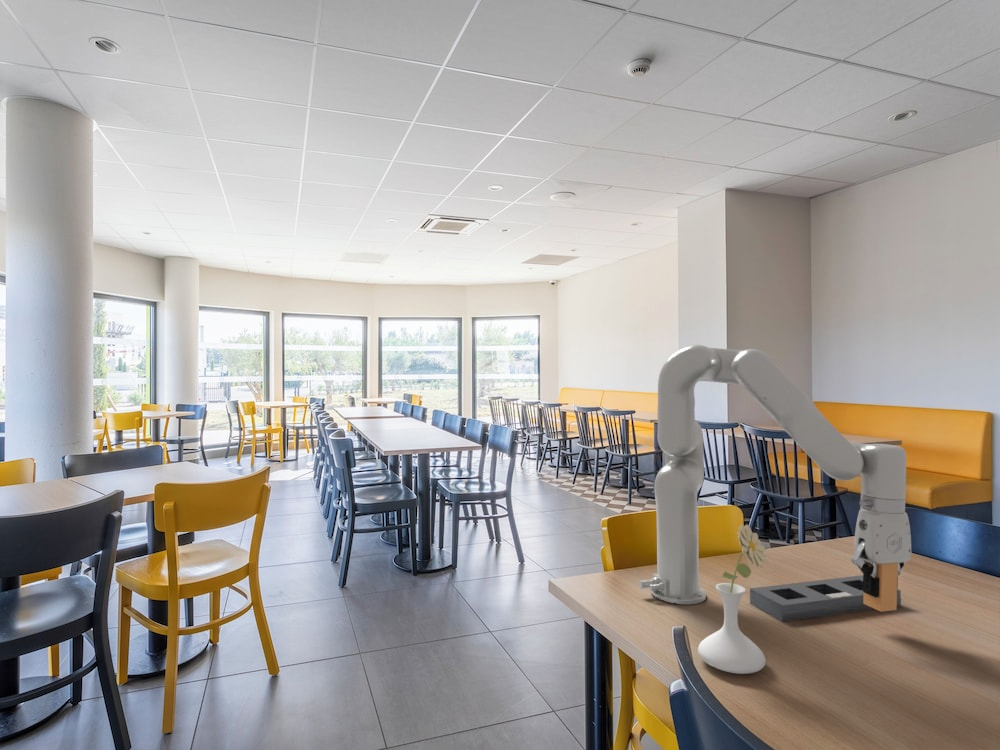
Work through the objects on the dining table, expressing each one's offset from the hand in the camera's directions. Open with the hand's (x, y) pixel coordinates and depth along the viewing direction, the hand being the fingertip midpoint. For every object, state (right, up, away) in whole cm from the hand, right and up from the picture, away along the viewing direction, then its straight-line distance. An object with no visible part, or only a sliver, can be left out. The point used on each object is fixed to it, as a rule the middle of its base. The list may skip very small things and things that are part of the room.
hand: (880, 592), depth 114 cm
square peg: (0, -3, 0) cm, 3 cm away
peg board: (-4, -8, +13) cm, 15 cm away
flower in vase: (-35, -8, -13) cm, 38 cm away
